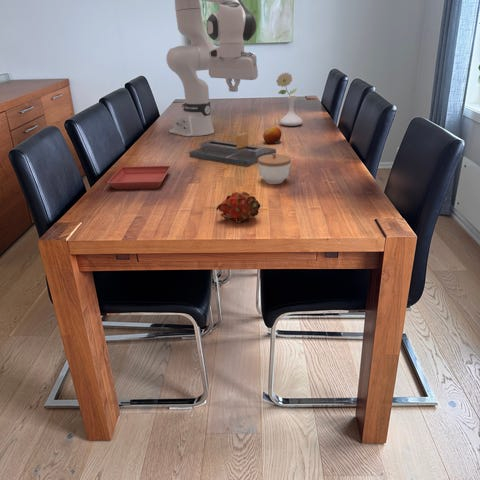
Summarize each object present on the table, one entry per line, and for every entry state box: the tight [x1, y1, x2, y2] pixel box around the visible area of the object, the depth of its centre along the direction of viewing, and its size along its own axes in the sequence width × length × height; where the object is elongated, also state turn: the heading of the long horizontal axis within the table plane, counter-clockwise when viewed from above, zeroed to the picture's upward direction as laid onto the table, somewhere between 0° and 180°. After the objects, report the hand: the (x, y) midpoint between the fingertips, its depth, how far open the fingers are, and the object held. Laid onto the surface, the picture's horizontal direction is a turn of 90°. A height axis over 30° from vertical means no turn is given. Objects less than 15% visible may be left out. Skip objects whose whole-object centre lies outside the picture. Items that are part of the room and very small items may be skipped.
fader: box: [235, 132, 249, 149], centre depth 182 cm, size 2×5×7 cm, turn 145°
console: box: [188, 139, 277, 168], centre depth 186 cm, size 28×20×4 cm
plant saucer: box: [107, 165, 171, 190], centre depth 160 cm, size 18×18×3 cm
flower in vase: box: [276, 72, 303, 127], centre depth 229 cm, size 13×11×25 cm
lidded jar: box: [257, 152, 292, 185], centre depth 155 cm, size 11×11×9 cm
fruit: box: [262, 126, 282, 145], centre depth 202 cm, size 8×8×8 cm
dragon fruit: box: [216, 191, 261, 224], centre depth 127 cm, size 8×8×12 cm
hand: (233, 91), depth 176 cm, fingers closed
